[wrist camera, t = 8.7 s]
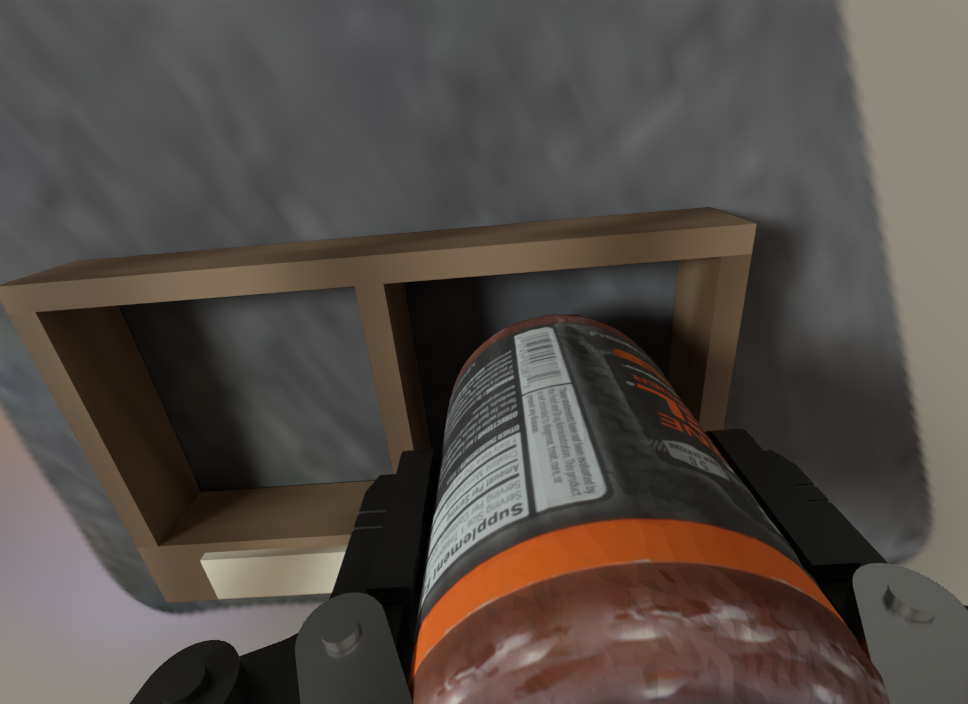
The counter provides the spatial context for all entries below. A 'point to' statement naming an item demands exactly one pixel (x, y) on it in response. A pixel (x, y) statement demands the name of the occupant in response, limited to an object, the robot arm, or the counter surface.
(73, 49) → the counter surface
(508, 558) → the supplement bottle
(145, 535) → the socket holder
